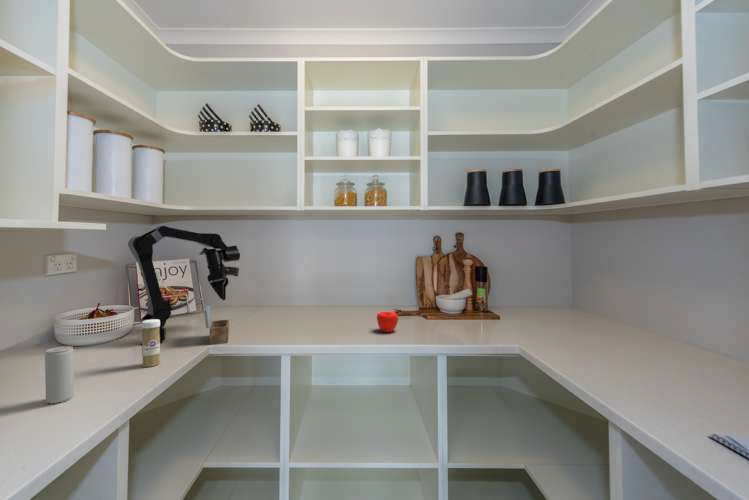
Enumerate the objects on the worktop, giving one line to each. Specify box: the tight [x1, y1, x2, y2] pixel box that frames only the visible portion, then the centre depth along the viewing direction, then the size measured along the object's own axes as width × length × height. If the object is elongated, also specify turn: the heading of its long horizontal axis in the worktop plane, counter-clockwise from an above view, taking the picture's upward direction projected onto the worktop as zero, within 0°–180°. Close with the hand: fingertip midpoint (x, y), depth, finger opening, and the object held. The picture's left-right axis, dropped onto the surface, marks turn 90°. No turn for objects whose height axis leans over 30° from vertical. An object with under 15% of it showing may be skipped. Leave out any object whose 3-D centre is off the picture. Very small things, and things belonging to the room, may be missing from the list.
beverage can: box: [44, 345, 75, 404], centre depth 75 cm, size 5×5×12 cm
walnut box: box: [209, 319, 230, 345], centre depth 123 cm, size 6×12×6 cm, turn 22°
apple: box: [376, 311, 399, 333], centre depth 136 cm, size 9×9×8 cm
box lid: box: [203, 304, 213, 329], centre depth 122 cm, size 6×13×1 cm
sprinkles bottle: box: [141, 319, 161, 368], centre depth 97 cm, size 5×5×14 cm
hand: (223, 299), depth 134 cm, fingers open, 9 cm apart
